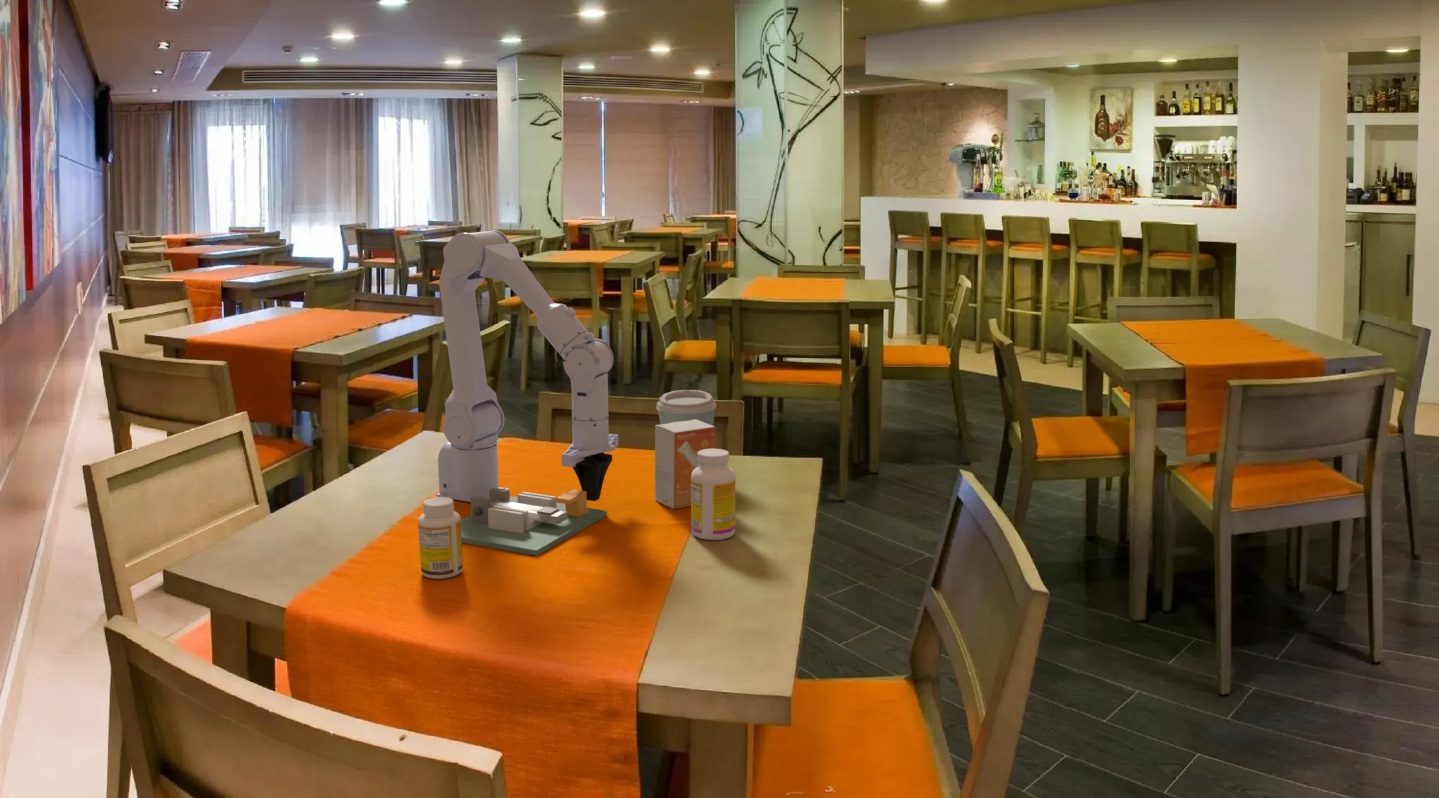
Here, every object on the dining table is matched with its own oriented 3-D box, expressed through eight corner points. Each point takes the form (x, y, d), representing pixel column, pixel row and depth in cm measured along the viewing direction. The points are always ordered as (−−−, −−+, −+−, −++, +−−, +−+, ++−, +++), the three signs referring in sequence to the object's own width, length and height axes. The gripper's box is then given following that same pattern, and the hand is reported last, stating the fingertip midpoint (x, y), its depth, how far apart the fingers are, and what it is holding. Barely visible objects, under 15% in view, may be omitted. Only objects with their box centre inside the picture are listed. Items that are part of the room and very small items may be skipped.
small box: (674, 510, 175) (673, 432, 172) (654, 500, 180) (653, 424, 177) (715, 502, 179) (716, 425, 176) (695, 492, 184) (695, 418, 181)
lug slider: (586, 512, 170) (586, 491, 170) (569, 521, 166) (569, 499, 165) (573, 510, 171) (573, 489, 171) (556, 519, 167) (556, 497, 166)
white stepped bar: (484, 511, 167) (484, 502, 167) (496, 506, 170) (496, 497, 169) (556, 524, 162) (556, 514, 162) (567, 518, 165) (567, 509, 164)
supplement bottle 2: (740, 530, 165) (741, 448, 163) (726, 543, 159) (727, 459, 156) (699, 525, 167) (700, 444, 165) (684, 538, 161) (684, 455, 159)
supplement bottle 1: (446, 562, 151) (443, 492, 149) (471, 572, 148) (468, 500, 145) (412, 573, 147) (408, 501, 145) (437, 583, 143) (433, 510, 141)
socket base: (434, 537, 161) (433, 509, 160) (512, 500, 179) (511, 475, 178) (536, 555, 154) (535, 526, 153) (606, 515, 172) (606, 488, 171)
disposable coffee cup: (715, 485, 188) (716, 401, 185) (654, 485, 188) (653, 401, 185) (716, 468, 198) (717, 389, 195) (658, 468, 199) (657, 388, 195)
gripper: (588, 429, 163) (590, 515, 166) (634, 410, 176) (635, 490, 179) (548, 424, 166) (551, 509, 169) (596, 406, 179) (598, 485, 182)
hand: (591, 499), depth 174 cm, fingers closed
